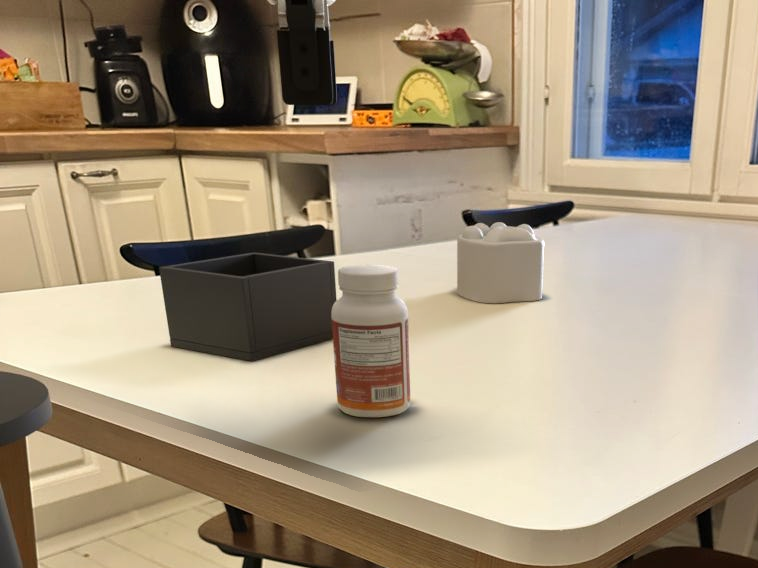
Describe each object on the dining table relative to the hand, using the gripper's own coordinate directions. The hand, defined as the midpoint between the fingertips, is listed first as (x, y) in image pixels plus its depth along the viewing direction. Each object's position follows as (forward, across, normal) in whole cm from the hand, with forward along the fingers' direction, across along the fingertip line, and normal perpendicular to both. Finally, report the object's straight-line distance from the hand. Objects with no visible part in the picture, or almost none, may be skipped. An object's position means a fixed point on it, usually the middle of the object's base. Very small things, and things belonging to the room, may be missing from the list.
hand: (312, 104), depth 63 cm
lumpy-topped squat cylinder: (+22, -57, +20) cm, 65 cm away
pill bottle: (+22, -3, +3) cm, 23 cm away
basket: (+22, -30, -9) cm, 38 cm away
